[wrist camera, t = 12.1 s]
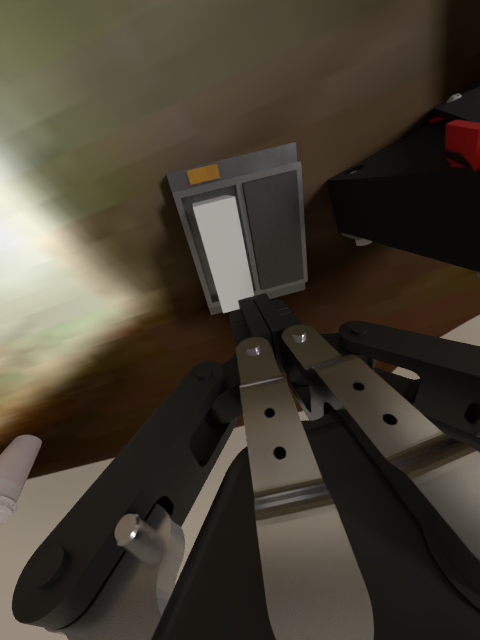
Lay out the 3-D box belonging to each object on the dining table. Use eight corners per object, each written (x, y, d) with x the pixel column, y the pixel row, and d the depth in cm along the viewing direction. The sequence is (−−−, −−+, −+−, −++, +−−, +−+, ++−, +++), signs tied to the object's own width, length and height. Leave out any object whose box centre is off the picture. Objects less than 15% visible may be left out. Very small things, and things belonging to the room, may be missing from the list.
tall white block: (192, 203, 23) (192, 207, 18) (225, 195, 24) (234, 196, 19) (217, 291, 29) (223, 313, 23) (244, 283, 29) (256, 304, 24)
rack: (167, 174, 23) (164, 172, 20) (291, 144, 24) (302, 139, 21) (210, 311, 31) (212, 321, 29) (301, 286, 32) (310, 294, 29)
